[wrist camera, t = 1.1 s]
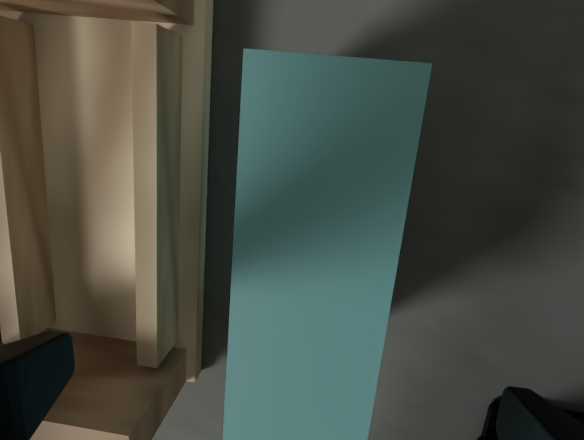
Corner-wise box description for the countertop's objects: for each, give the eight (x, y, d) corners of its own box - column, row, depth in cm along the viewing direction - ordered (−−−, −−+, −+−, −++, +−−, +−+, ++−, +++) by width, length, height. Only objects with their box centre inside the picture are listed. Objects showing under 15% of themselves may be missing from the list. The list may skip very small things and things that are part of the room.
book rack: (213, -19, 17) (133, -105, 11) (200, 370, 23) (141, 478, 16) (5, -32, 18) (-191, -119, 12) (39, 345, 24) (-82, 436, 17)
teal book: (383, 92, 18) (432, 63, 8) (349, 328, 21) (355, 508, 11) (295, 84, 18) (243, 48, 9) (275, 317, 21) (220, 483, 12)
